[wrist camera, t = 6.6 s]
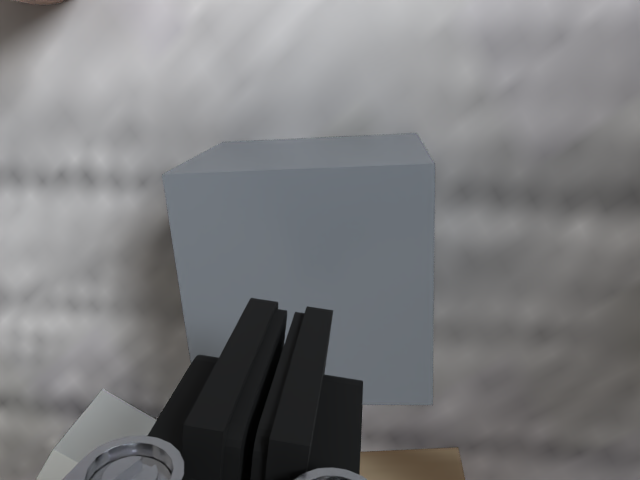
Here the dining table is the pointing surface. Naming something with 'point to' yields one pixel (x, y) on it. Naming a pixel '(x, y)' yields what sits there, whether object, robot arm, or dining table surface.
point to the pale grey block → (95, 433)
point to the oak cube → (412, 464)
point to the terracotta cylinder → (41, 1)
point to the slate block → (314, 249)
